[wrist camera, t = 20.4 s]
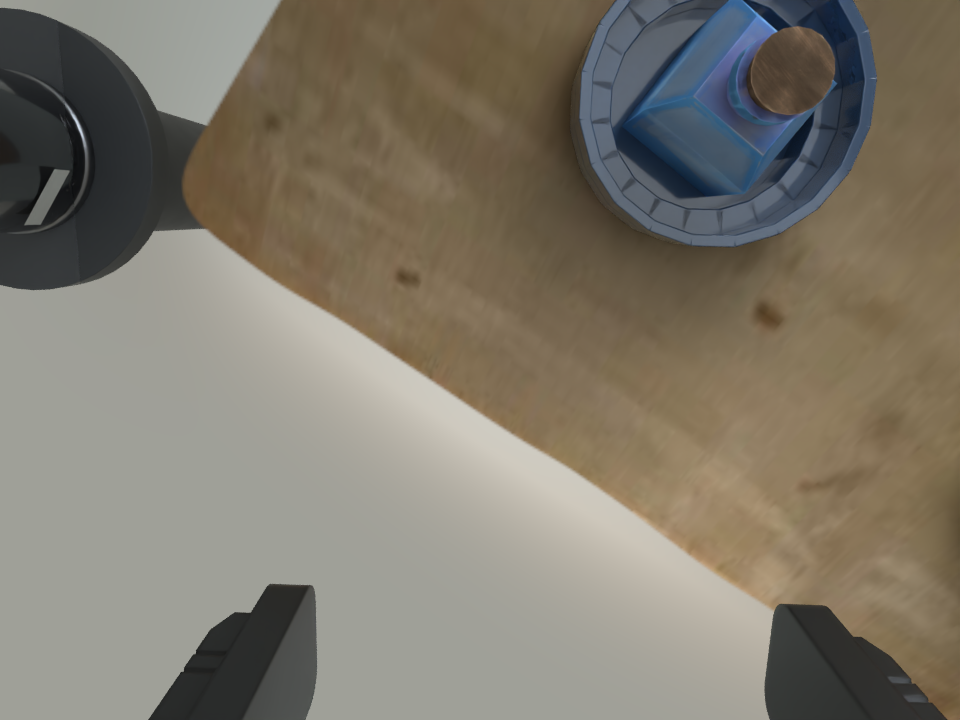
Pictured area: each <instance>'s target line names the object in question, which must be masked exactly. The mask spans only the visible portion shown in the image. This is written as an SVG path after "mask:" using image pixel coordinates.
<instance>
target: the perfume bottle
mask: <svg viewBox="0 0 960 720" xmlns="http://www.w3.org/2000/svg"><path fill="white" fill-rule="evenodd" d="M834 74H835V58H834V55H833V52H832V50H831V47H830V45H829V44H828V42H827V41H826V40H825V39H824V37H823V36H822V35H820V34H819V33H817V32H815V31H814V30H812V29H809V28H804V27H799V26H797V27H789V28H784V29H782V30H780V31H777V30H776V29H775V28H773V27H772V26H771V25H770V24H769V23H768V22H767V21H765V20H764V19H763V18H762V17H761V16H760V15H759V14H757V13H756V12H755V11H754V10H753V9H752V8H751V7H750V6H748V5H747V4H746V3H745V2H744V1H743V0H729V1H728V2H727V3H725V4H724V5H723V6H722V7H721V8H720V9H719V10H718V11H717V12H716V13H715V14H714V15H712V16H711V17H710V18H709V19H708V20H707V21H706V22H705V23H704V24H703V25H702V26H701V27H699V28H698V29H697V30H696V32H695V33H694V34H693V35H692V37H691V38H690V39H689V41H688V42H687V43H686V44H685V46H684V47H683V48H682V49H681V51H680V52H679V53H678V55H677V56H676V57H675V58H674V60H673V61H672V62H671V63H670V65H669V66H668V67H667V69H666V70H665V71H664V72H663V74H662V75H661V76H660V78H659V79H658V80H657V81H656V83H655V84H654V85H653V86H652V88H651V89H650V90H649V92H648V93H647V94H646V95H645V97H644V98H643V99H642V101H641V102H640V103H639V104H638V106H637V107H636V108H635V109H634V111H633V112H632V113H631V115H630V116H629V117H628V118H627V120H626V121H625V122H624V124H623V125H622V127H623V128H624V129H626V130H627V131H628V132H629V133H630V134H632V135H633V136H634V137H635V138H636V139H638V140H639V141H640V142H641V143H642V144H644V145H645V146H646V147H647V148H648V149H650V150H651V151H652V152H653V153H654V154H656V155H657V156H658V157H659V158H660V159H662V160H663V161H664V162H665V163H666V164H668V165H669V166H670V167H671V168H672V169H674V170H675V171H676V172H677V173H678V174H680V175H681V176H682V177H683V178H684V179H686V180H687V181H688V182H689V183H690V184H692V185H693V186H694V187H695V188H696V189H698V190H699V191H700V192H701V193H702V194H704V195H705V196H706V197H711V196H723V195H735V194H745V193H746V192H747V191H748V190H749V188H750V187H751V186H752V185H753V184H754V182H755V181H756V180H757V179H758V178H759V176H760V175H761V174H762V173H763V172H764V170H765V169H766V168H767V167H768V166H769V164H770V163H771V162H772V161H773V160H774V158H775V157H776V156H777V155H778V154H779V153H780V151H781V150H782V149H783V148H784V147H785V145H786V144H787V143H788V142H789V141H790V139H791V138H792V137H793V136H794V135H795V133H796V132H797V131H798V130H799V129H800V127H801V126H802V125H803V124H804V123H805V121H806V120H807V119H808V118H809V117H810V116H811V114H812V113H813V112H814V111H815V110H816V108H817V107H818V106H819V105H820V104H821V102H822V101H823V100H824V99H825V98H826V96H827V95H828V94H829V93H830V92H831V90H832V89H833V88H834V87H835V86H836V84H837V83H836V82H835V81H834V80H833V78H834Z"/></svg>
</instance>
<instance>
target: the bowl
mask: <svg viewBox="0 0 960 720" xmlns="http://www.w3.org/2000/svg"><path fill="white" fill-rule="evenodd" d="M728 1H729V0H616V1H615V2H614V3H613V5H612V6H611V7H610V9H609V10H608V11H607V13H606V14H605V15H604V17H603V18H602V19H601V21H600V22H599V24H598V26H597V28H596V29H595V31H594V33H593V35H592V37H591V39H590V41H589V43H588V44H587V46H586V49H585V52H584V55H583V57H582V60H581V63H580V66H579V68H578V71H577V74H576V77H575V80H574V82H573V85H572V95H571V115H570V133H571V137H572V141H573V144H574V148H575V152H576V156H577V160H578V164H579V168H580V170H581V172H582V174H583V176H584V177H585V179H586V180H587V182H588V183H589V185H590V187H591V188H592V190H593V191H594V193H595V194H596V196H597V198H598V199H599V201H600V202H601V204H602V205H603V206H604V207H606V208H607V209H608V210H609V211H611V212H612V213H613V214H614V215H616V216H617V217H618V218H619V219H621V220H622V221H623V222H624V223H626V224H627V225H628V226H629V227H630V228H632V229H634V230H636V231H639V232H641V233H644V234H647V235H650V236H652V237H655V238H658V239H661V240H663V241H666V242H670V243H675V244H681V245H687V246H704V247H738V246H741V245H744V244H748V243H751V242H755V241H758V240H762V239H765V238H769V237H772V236H776V235H778V234H781V233H782V232H784V231H785V230H787V229H788V228H790V227H791V226H793V225H794V224H796V223H797V222H799V221H800V220H802V219H804V218H805V217H807V216H808V215H810V214H811V213H813V212H814V211H816V210H817V209H818V208H819V207H820V206H821V205H822V204H823V203H824V202H825V200H826V199H827V198H828V197H829V196H830V195H831V193H832V192H833V191H834V190H835V189H836V188H837V186H838V185H839V184H840V183H841V182H842V181H843V179H844V178H845V177H846V176H847V175H848V174H849V171H851V169H852V166H853V164H854V162H855V160H856V158H857V155H858V153H859V151H860V149H861V146H862V144H863V142H864V140H865V138H866V135H867V133H868V131H869V129H870V126H871V119H872V112H873V104H874V97H875V89H876V82H877V78H876V77H877V75H876V69H875V63H874V58H873V52H872V46H871V40H870V35H869V30H868V27H867V26H866V24H865V22H864V20H863V18H862V16H861V14H860V13H859V11H858V9H857V7H856V5H855V3H854V2H853V0H743V1H744V2H745V3H746V4H747V5H748V6H750V7H751V8H752V9H753V10H754V11H755V12H756V13H757V14H759V15H760V16H761V17H762V18H763V19H764V20H765V21H767V22H768V23H769V24H770V25H771V26H772V27H773V28H775V29H776V30H777V31H780V30H782V29H784V28H789V27H797V26H799V27H804V28H809V29H812V30H814V31H815V32H817V33H819V34H820V35H822V36H823V37H824V39H825V40H826V41H827V42H828V44H829V45H830V47H831V50H832V52H833V55H834V58H835V74H834V78H833V80H834V81H835V82H836V83H837V84H836V86H835V87H834V88H833V89H832V90H831V92H830V93H829V94H828V95H827V96H826V98H825V99H824V100H823V101H822V102H821V104H820V105H819V106H818V107H817V108H816V110H815V111H814V112H813V113H812V114H811V116H810V117H809V118H808V119H807V120H806V121H805V123H804V124H803V125H802V126H801V127H800V129H799V130H798V131H797V132H796V133H795V135H794V136H793V137H792V138H791V139H790V141H789V142H788V143H787V144H786V145H785V147H784V148H783V149H782V150H781V151H780V153H779V154H778V155H777V156H776V157H775V158H774V160H773V161H772V162H771V163H770V164H769V166H768V167H767V168H766V169H765V170H764V172H763V173H762V174H761V175H760V176H759V178H758V179H757V180H756V181H755V182H754V184H753V185H752V186H751V187H750V188H749V190H748V191H747V192H746V193H745V194H735V195H723V196H711V197H706V196H705V195H704V194H702V193H701V192H700V191H699V190H698V189H696V188H695V187H694V186H693V185H692V184H690V183H689V182H688V181H687V180H686V179H684V178H683V177H682V176H681V175H680V174H678V173H677V172H676V171H675V170H674V169H672V168H671V167H670V166H669V165H668V164H666V163H665V162H664V161H663V160H662V159H660V158H659V157H658V156H657V155H656V154H654V153H653V152H652V151H651V150H650V149H648V148H647V147H646V146H645V145H644V144H642V143H641V142H640V141H639V140H638V139H636V138H635V137H634V136H633V135H632V134H630V133H629V132H628V131H627V130H626V129H624V128H623V127H622V125H623V124H624V122H625V121H626V120H627V118H628V117H629V116H630V115H631V113H632V112H633V111H634V109H635V108H636V107H637V106H638V104H639V103H640V102H641V101H642V99H643V98H644V97H645V95H646V94H647V93H648V92H649V90H650V89H651V88H652V86H653V85H654V84H655V83H656V81H657V80H658V79H659V78H660V76H661V75H662V74H663V72H664V71H665V70H666V69H667V67H668V66H669V65H670V63H671V62H672V61H673V60H674V58H675V57H676V56H677V55H678V53H679V52H680V51H681V49H682V48H683V47H684V46H685V44H686V43H687V42H688V41H689V39H690V38H691V37H692V35H693V34H694V33H695V32H696V30H697V29H698V28H699V27H701V26H702V25H703V24H704V23H705V22H706V21H707V20H708V19H709V18H710V17H711V16H712V15H714V14H715V13H716V12H717V11H718V10H719V9H720V8H721V7H722V6H723V5H724V4H725V3H727V2H728Z"/></svg>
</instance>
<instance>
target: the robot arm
mask: <svg viewBox="0 0 960 720" xmlns="http://www.w3.org/2000/svg"><path fill="white" fill-rule="evenodd" d="M94 168H95V158H94V149H93V144H92V140H91V137H90V134H89V131H88V129H87V126H86V124H85V122H84V120H83V118H82V117H81V115H80V114H79V112H78V111H77V109H76V108H75V107H74V105H73V104H72V103H71V102H70V101H69V100H68V99H67V98H66V97H65V96H64V95H63V94H62V93H61V92H60V91H59V90H57V89H56V88H55V87H53V86H52V85H50V84H48V83H47V82H45V81H43V80H41V79H39V78H36V77H34V76H31V75H28V74H24V73H21V72H17V71H13V70H7V69H1V68H0V233H13V234H29V233H40V232H44V231H48V230H51V229H54V228H56V227H58V226H60V225H62V224H63V223H65V222H66V221H68V220H69V219H70V218H71V217H73V216H74V215H75V214H76V213H77V211H78V210H79V209H80V208H81V206H82V205H83V203H84V202H85V200H86V198H87V196H88V194H89V191H90V189H91V186H92V182H93V177H94ZM315 603H316V601H315V591H314V588H313V586H311V585H286V584H285V585H284V584H269V585H268V586H267V587H266V589H265V591H264V592H263V594H262V596H261V597H260V599H259V600H258V602H257V604H256V605H255V607H254V608H253V610H252V612H251V613H238V612H235V613H233V614H232V615H230V616H229V617H228V618H226V619H225V620H223V621H222V622H221V623H219V624H218V625H216V626H215V627H213V628H212V629H211V630H210V631H209V632H208V634H207V635H206V637H205V638H204V640H203V641H202V643H201V644H200V646H199V647H198V649H197V650H196V654H194V655H193V656H192V657H191V659H190V660H189V661H188V663H187V664H186V666H185V667H184V672H181V673H180V675H179V676H178V677H177V679H176V680H175V682H174V683H173V685H172V686H171V688H170V689H169V690H168V692H167V693H166V695H165V696H164V698H163V699H162V701H161V702H160V704H159V705H158V706H157V708H156V709H155V711H154V712H153V714H152V715H151V717H150V718H149V719H148V720H305V719H306V716H307V714H308V711H309V709H310V706H311V703H312V699H313V695H314V689H315V684H316V675H317V673H316V672H317V649H316V648H317V646H316V604H315ZM765 701H766V708H767V712H768V715H769V719H770V720H947V719H946V718H945V717H944V716H943V714H942V713H941V712H940V711H939V710H938V709H937V708H936V707H935V705H934V704H933V703H929V702H928V698H927V696H926V695H925V694H924V693H923V692H922V691H921V690H920V689H919V688H918V686H917V685H916V684H912V683H911V679H910V677H909V676H908V675H907V674H906V673H905V672H904V671H903V670H902V668H901V667H900V666H899V665H898V664H897V663H896V662H895V661H894V660H893V658H892V657H891V656H889V655H888V654H886V653H885V652H883V651H882V650H880V649H879V648H877V647H876V646H874V645H873V644H871V643H870V642H868V641H867V640H865V639H863V638H862V637H853V636H852V635H851V634H850V633H849V631H848V630H847V629H846V628H845V627H844V625H843V624H842V623H841V622H840V621H839V620H838V618H837V617H836V616H835V615H834V614H833V612H832V611H831V610H830V609H829V608H828V607H826V606H823V605H798V604H779V605H778V606H777V607H776V609H775V611H774V615H773V622H772V629H771V637H770V645H769V653H768V662H767V669H766V677H765Z"/></svg>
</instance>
